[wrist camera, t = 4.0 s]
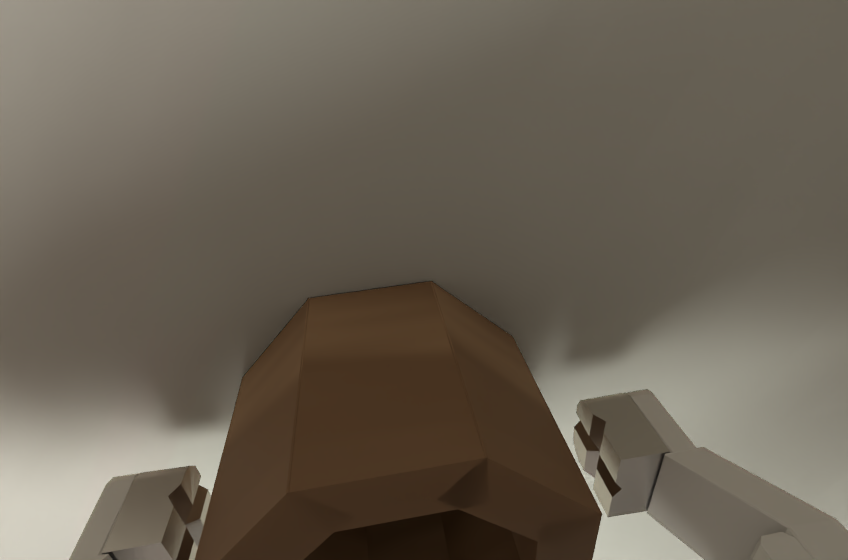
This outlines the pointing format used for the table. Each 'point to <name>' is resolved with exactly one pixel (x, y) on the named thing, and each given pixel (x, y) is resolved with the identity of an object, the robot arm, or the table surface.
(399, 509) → the ring
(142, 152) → the table surface
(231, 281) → the table surface
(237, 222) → the table surface
